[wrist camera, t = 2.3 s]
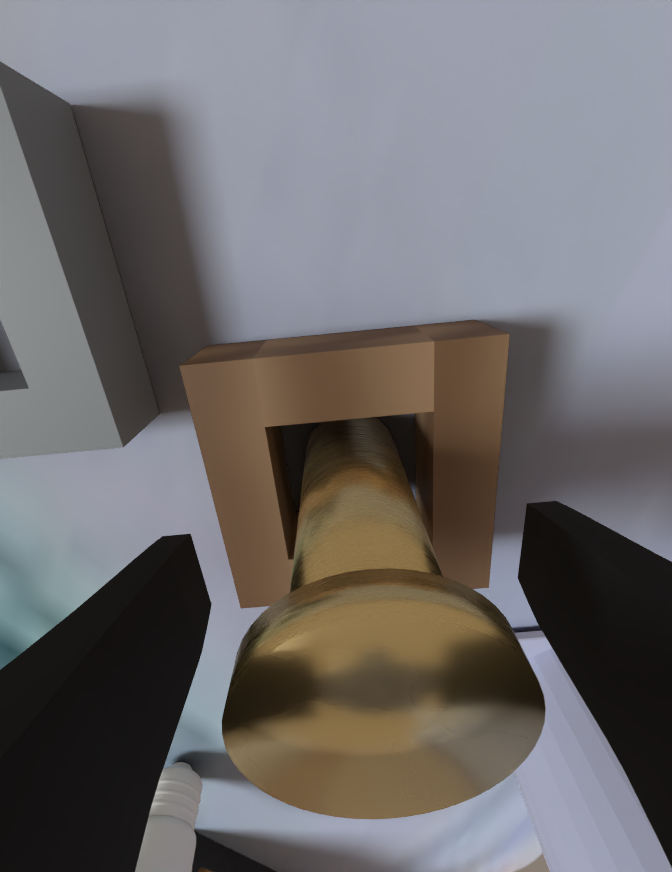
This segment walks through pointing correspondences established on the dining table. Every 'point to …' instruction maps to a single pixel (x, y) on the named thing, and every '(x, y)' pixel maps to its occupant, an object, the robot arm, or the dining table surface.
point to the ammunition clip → (221, 858)
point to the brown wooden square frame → (340, 400)
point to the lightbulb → (172, 822)
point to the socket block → (60, 291)
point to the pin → (376, 655)
